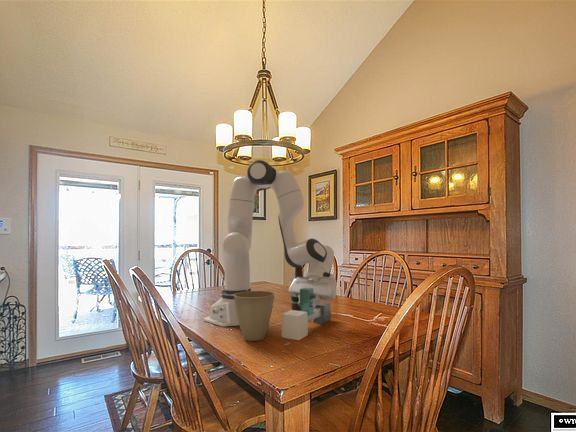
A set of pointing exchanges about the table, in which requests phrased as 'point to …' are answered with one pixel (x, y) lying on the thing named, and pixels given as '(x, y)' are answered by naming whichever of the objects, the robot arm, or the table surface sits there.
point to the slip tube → (305, 302)
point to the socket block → (294, 324)
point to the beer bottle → (293, 299)
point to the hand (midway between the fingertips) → (306, 305)
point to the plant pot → (254, 313)
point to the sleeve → (326, 313)
